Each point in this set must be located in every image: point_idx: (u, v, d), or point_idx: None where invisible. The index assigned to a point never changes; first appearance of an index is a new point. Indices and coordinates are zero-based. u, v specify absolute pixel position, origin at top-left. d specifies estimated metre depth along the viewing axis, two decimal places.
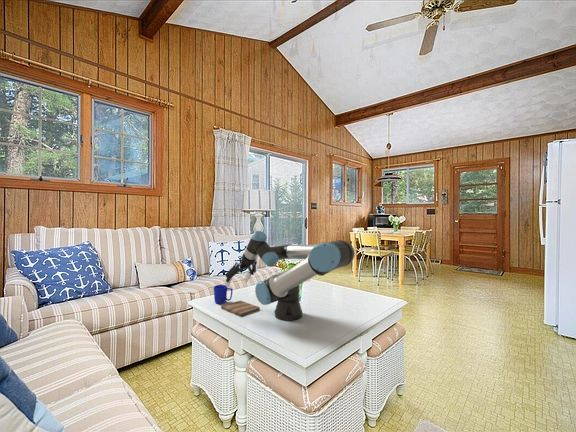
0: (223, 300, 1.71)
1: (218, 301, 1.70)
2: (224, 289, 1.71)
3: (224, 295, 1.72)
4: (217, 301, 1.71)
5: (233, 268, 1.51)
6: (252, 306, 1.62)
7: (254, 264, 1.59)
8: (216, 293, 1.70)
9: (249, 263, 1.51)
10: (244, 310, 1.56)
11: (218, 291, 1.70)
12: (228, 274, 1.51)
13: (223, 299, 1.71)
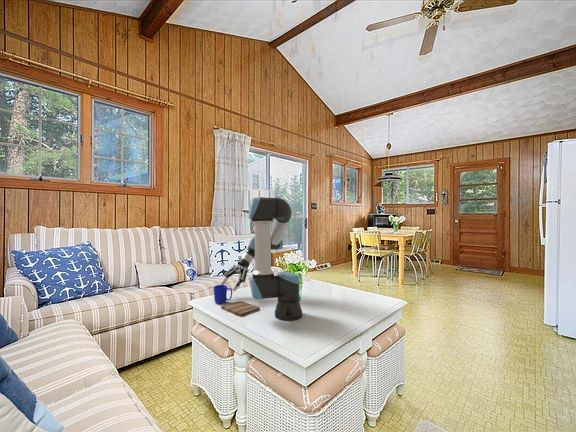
0: (223, 300, 1.71)
1: (218, 301, 1.70)
2: (224, 289, 1.71)
3: (224, 295, 1.72)
4: (217, 301, 1.71)
5: None
6: (252, 306, 1.62)
7: (244, 269, 1.79)
8: (216, 293, 1.70)
9: (239, 260, 1.85)
10: (244, 310, 1.56)
11: (218, 291, 1.70)
12: None
13: (223, 299, 1.71)
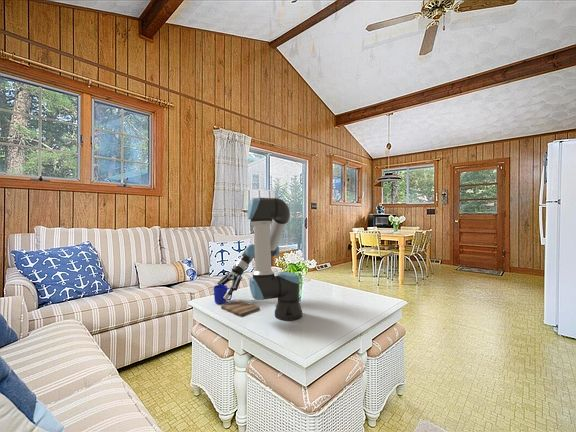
0: (223, 300, 1.71)
1: (218, 301, 1.70)
2: (224, 289, 1.71)
3: (224, 295, 1.72)
4: (217, 301, 1.71)
5: None
6: (252, 306, 1.62)
7: (237, 276, 1.75)
8: (216, 293, 1.70)
9: (233, 267, 1.80)
10: (244, 310, 1.56)
11: (218, 291, 1.70)
12: None
13: (223, 299, 1.71)
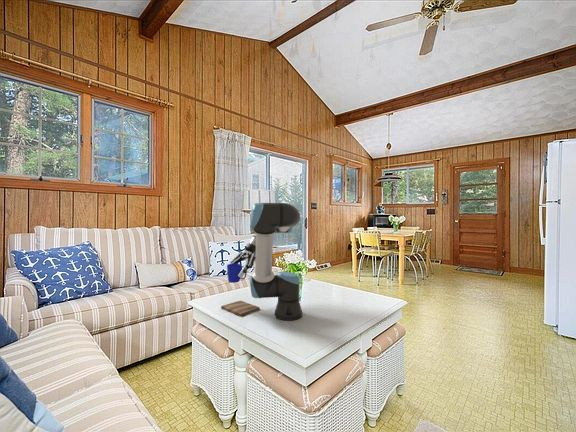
0: (237, 279, 1.62)
1: (232, 280, 1.61)
2: (238, 267, 1.62)
3: (238, 273, 1.63)
4: (231, 280, 1.61)
5: None
6: (252, 306, 1.62)
7: (252, 254, 1.66)
8: (230, 271, 1.61)
9: None
10: (244, 310, 1.56)
11: (232, 269, 1.61)
12: None
13: (237, 278, 1.62)
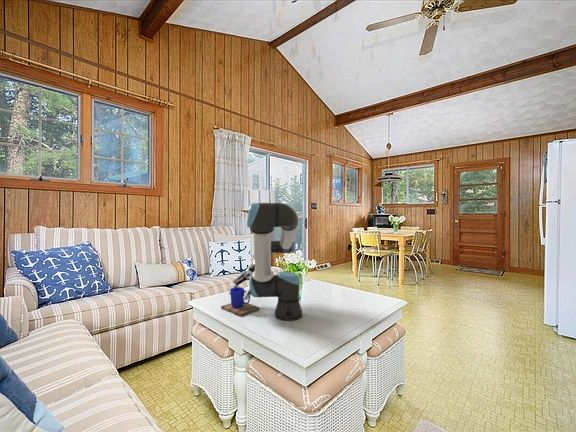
0: (240, 304, 1.60)
1: (235, 305, 1.59)
2: (242, 292, 1.60)
3: (241, 298, 1.60)
4: (234, 305, 1.59)
5: None
6: (252, 306, 1.62)
7: None
8: (233, 296, 1.59)
9: (250, 266, 1.69)
10: (244, 310, 1.56)
11: (235, 294, 1.59)
12: None
13: (240, 303, 1.60)
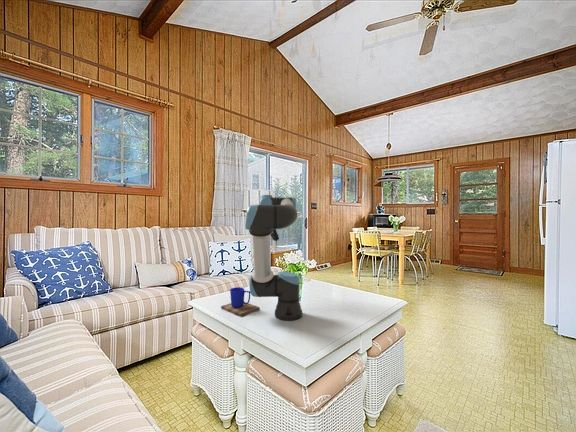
0: (240, 304, 1.60)
1: (235, 305, 1.59)
2: (242, 292, 1.60)
3: (241, 298, 1.60)
4: (234, 305, 1.59)
5: None
6: (252, 306, 1.62)
7: (274, 228, 1.84)
8: (233, 296, 1.59)
9: None
10: (244, 310, 1.56)
11: (235, 294, 1.59)
12: None
13: (240, 303, 1.60)
